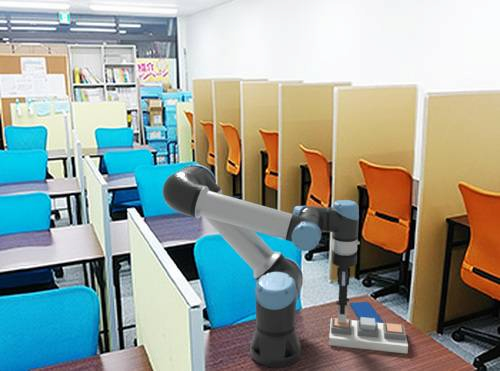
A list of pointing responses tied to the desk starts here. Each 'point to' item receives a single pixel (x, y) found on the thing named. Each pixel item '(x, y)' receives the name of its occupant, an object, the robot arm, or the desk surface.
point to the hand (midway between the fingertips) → (341, 321)
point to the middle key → (367, 324)
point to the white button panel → (368, 337)
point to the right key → (394, 328)
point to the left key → (341, 324)
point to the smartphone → (365, 311)
